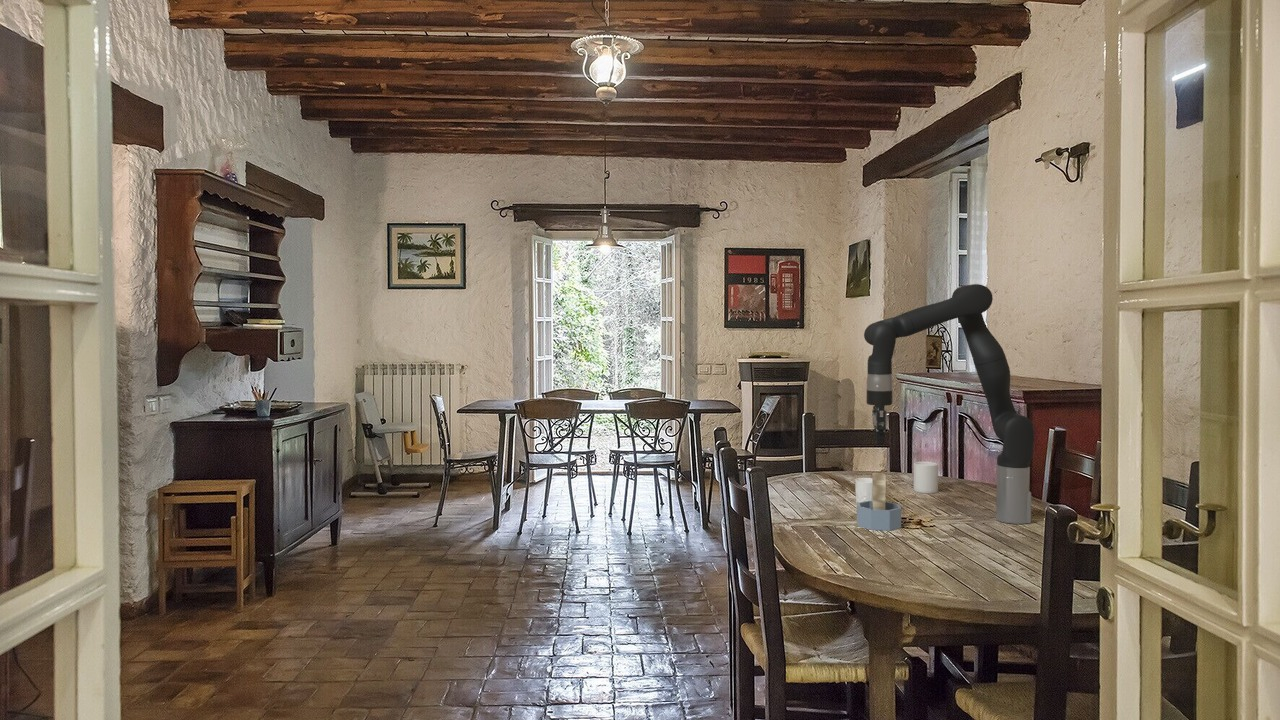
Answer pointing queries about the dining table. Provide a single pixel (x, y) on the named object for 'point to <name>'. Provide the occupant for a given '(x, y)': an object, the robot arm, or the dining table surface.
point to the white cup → (863, 489)
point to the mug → (925, 477)
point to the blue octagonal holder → (879, 516)
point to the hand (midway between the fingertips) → (879, 442)
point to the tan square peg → (878, 491)
